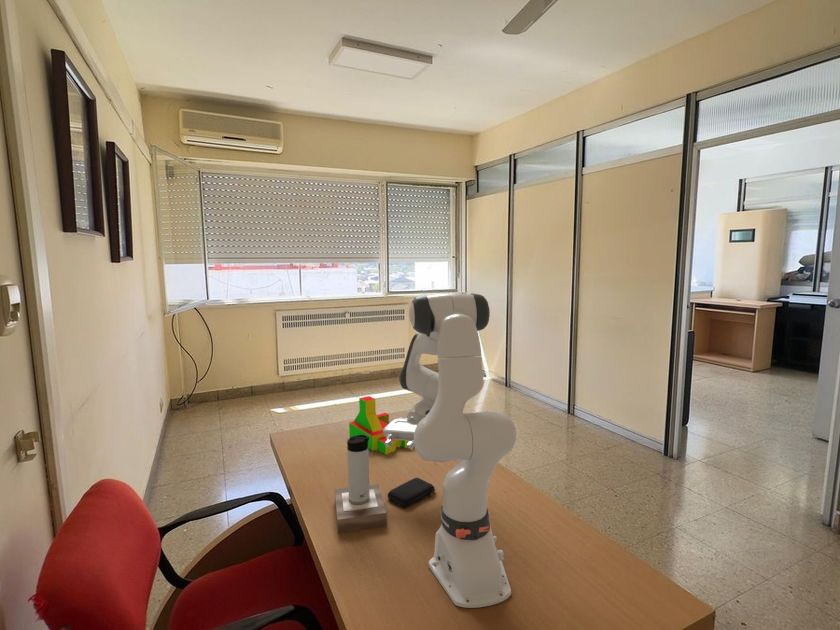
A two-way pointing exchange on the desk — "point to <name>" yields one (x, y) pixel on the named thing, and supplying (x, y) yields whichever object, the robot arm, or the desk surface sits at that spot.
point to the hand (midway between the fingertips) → (397, 446)
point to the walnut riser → (360, 510)
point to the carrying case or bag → (411, 492)
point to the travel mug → (358, 469)
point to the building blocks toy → (373, 427)
